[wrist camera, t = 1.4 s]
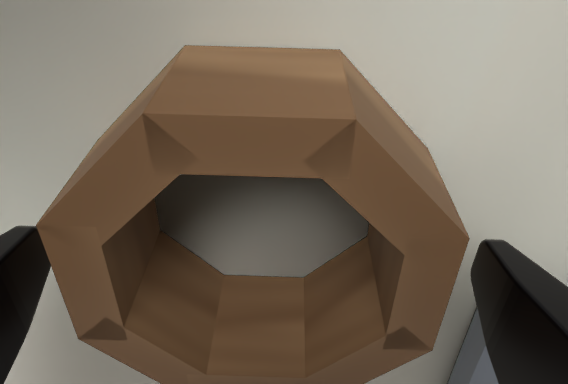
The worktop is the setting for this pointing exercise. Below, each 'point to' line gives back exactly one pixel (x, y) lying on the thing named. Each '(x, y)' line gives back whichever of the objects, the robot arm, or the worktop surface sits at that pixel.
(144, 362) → the walnut ring
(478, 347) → the post plate
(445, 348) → the worktop surface
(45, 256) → the robot arm
